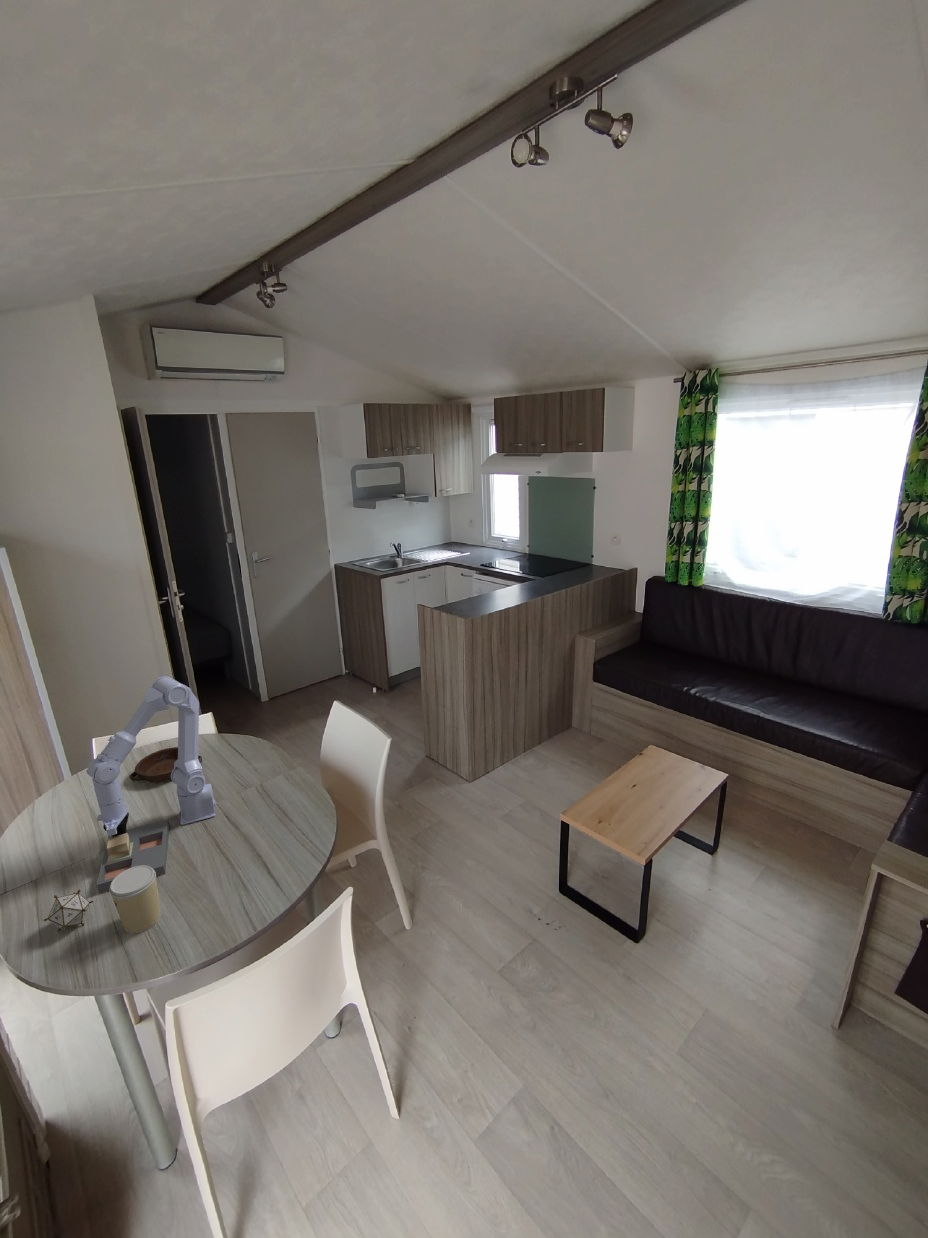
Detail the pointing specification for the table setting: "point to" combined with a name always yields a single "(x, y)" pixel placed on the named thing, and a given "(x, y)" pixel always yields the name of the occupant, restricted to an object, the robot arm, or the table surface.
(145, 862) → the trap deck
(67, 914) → the game die
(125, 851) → the maple block
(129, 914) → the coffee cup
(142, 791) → the table surface
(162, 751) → the dish
